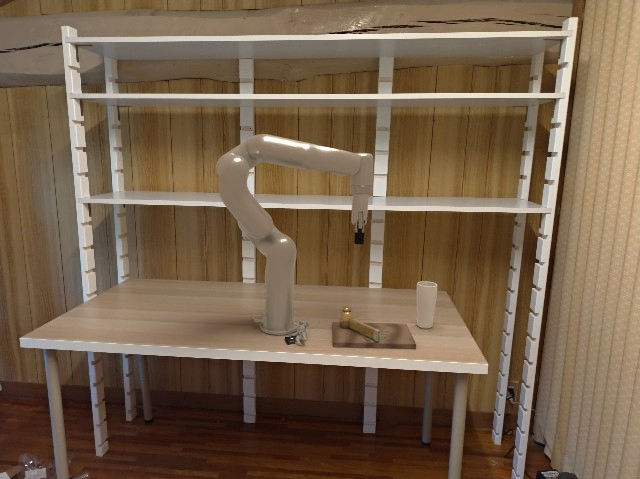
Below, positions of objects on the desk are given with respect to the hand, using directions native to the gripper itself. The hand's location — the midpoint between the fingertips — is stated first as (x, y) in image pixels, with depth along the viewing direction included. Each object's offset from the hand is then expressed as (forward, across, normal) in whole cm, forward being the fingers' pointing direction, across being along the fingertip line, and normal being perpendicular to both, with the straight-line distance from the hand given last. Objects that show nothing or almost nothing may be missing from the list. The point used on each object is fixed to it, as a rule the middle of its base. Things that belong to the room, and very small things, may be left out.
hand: (358, 243), depth 159 cm
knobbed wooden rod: (+25, +17, 0) cm, 31 cm away
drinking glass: (+27, +6, +23) cm, 36 cm away
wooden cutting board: (+27, +17, +4) cm, 32 cm away
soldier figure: (+27, +20, -18) cm, 38 cm away
